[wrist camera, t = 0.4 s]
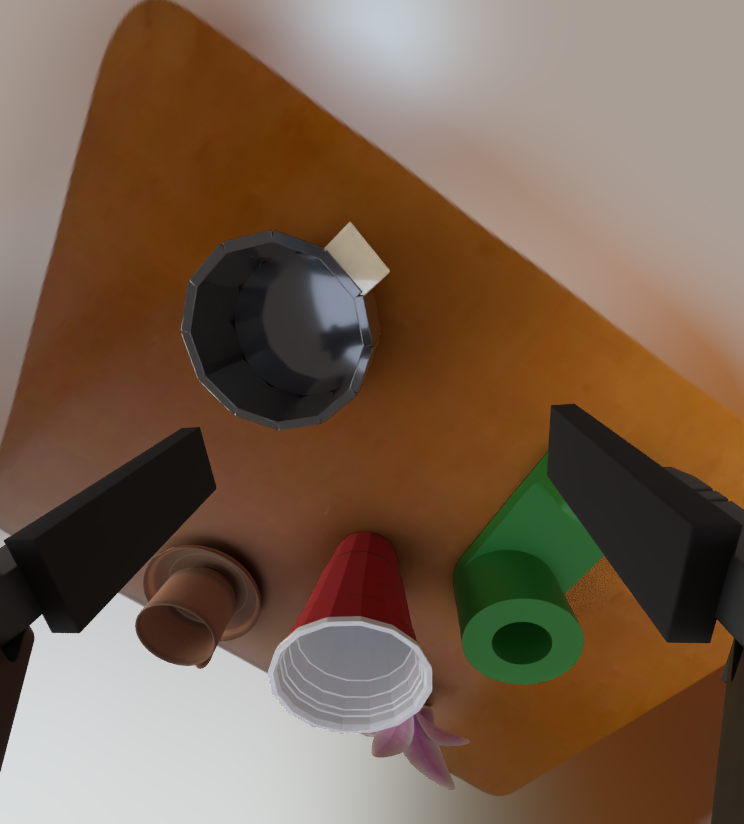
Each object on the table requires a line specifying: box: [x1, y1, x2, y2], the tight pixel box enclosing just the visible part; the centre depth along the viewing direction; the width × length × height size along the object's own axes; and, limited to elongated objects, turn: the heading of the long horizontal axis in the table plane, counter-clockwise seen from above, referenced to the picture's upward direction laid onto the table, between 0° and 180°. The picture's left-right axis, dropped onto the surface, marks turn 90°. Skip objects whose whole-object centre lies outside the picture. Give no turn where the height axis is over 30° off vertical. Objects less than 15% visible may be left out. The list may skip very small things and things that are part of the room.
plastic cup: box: [268, 532, 432, 733], centre depth 29 cm, size 11×11×12 cm
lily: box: [359, 707, 470, 790], centre depth 36 cm, size 12×12×10 cm
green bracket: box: [453, 452, 604, 684], centre depth 29 cm, size 18×9×6 cm, turn 152°
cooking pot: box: [181, 222, 391, 430], centre depth 23 cm, size 13×11×6 cm
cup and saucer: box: [135, 545, 261, 669], centre depth 34 cm, size 12×12×6 cm
